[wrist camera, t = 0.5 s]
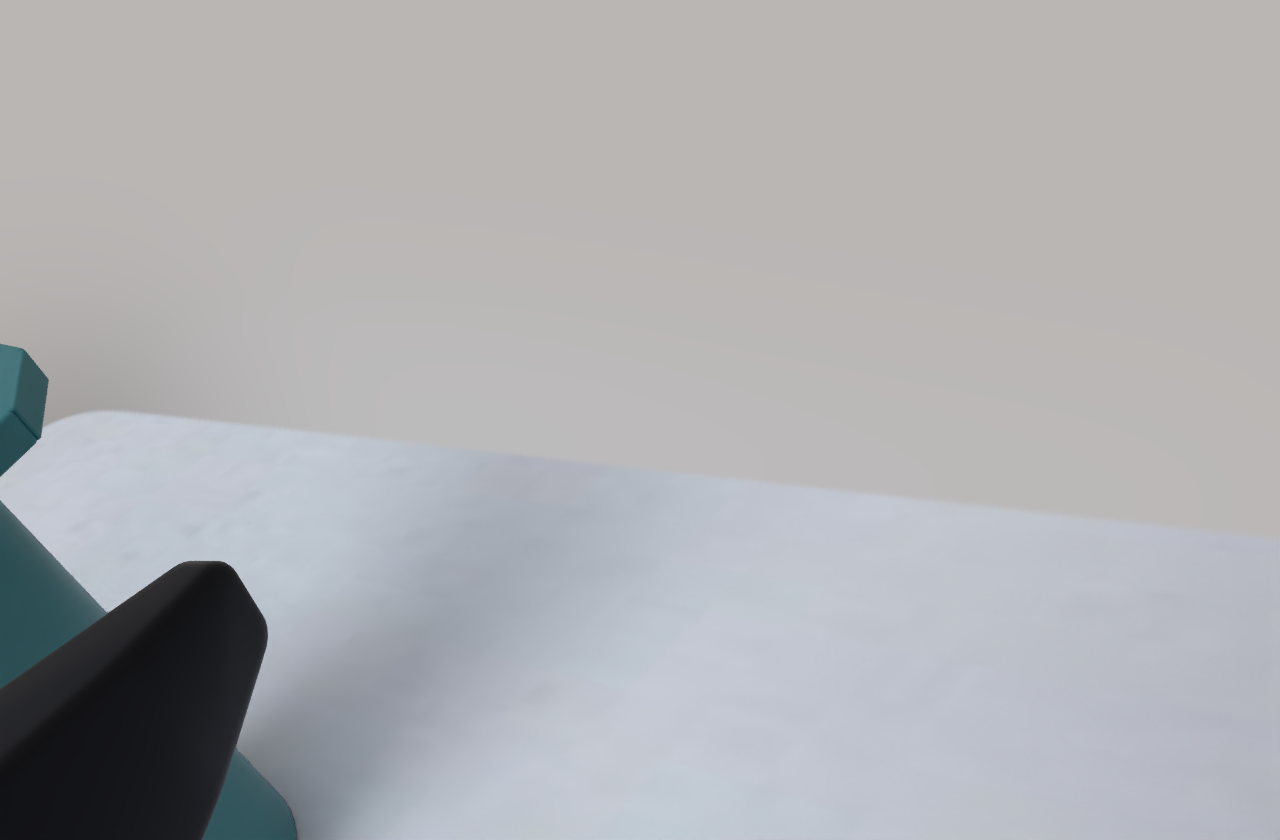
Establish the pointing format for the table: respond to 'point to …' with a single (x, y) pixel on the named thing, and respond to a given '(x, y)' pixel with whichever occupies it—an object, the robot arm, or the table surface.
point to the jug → (86, 607)
